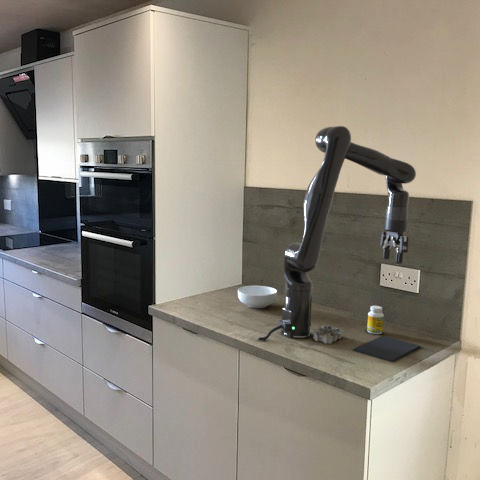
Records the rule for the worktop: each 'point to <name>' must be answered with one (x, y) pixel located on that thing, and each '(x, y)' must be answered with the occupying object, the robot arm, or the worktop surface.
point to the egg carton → (327, 334)
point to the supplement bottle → (375, 320)
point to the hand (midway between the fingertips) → (392, 261)
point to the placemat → (387, 348)
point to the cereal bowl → (257, 296)
